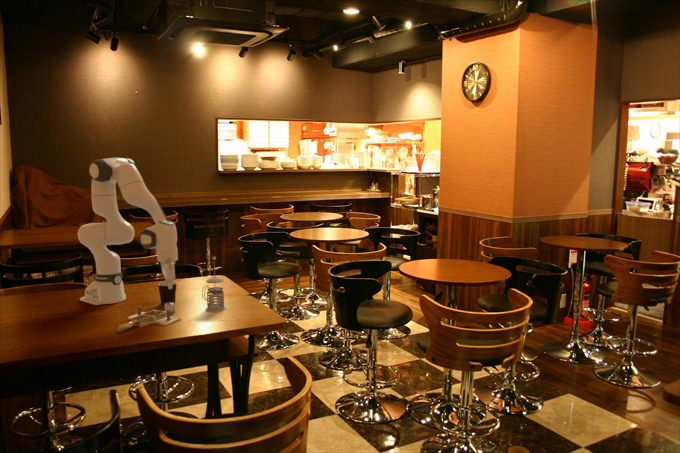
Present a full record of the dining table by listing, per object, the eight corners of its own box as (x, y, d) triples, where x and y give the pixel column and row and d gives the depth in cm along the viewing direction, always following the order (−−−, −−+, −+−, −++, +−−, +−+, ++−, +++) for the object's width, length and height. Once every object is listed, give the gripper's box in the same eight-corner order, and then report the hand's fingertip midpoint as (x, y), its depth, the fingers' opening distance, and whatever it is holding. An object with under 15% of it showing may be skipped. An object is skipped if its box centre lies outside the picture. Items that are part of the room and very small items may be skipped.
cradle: (117, 323, 240) (116, 311, 239) (143, 313, 253) (142, 303, 252) (155, 329, 230) (155, 318, 229) (180, 320, 244) (180, 309, 243)
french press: (230, 308, 261) (229, 256, 257) (209, 314, 252) (207, 260, 249) (218, 305, 267) (216, 254, 264) (197, 310, 259) (195, 257, 255)
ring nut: (162, 313, 253) (162, 303, 253) (169, 311, 257) (169, 301, 257) (170, 314, 252) (169, 304, 251) (177, 312, 256) (176, 302, 255)
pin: (123, 332, 227) (122, 325, 226) (117, 331, 228) (117, 324, 227) (139, 326, 235) (139, 319, 234) (134, 325, 236) (133, 318, 235)
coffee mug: (172, 306, 265) (171, 286, 263) (155, 305, 266) (154, 285, 265) (183, 300, 276) (182, 280, 275) (167, 299, 278) (166, 279, 276)
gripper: (177, 259, 243) (179, 290, 244) (172, 253, 261) (173, 281, 263) (162, 260, 240) (164, 291, 242) (158, 254, 259) (159, 283, 260)
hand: (169, 286), depth 252 cm, fingers open, 8 cm apart
